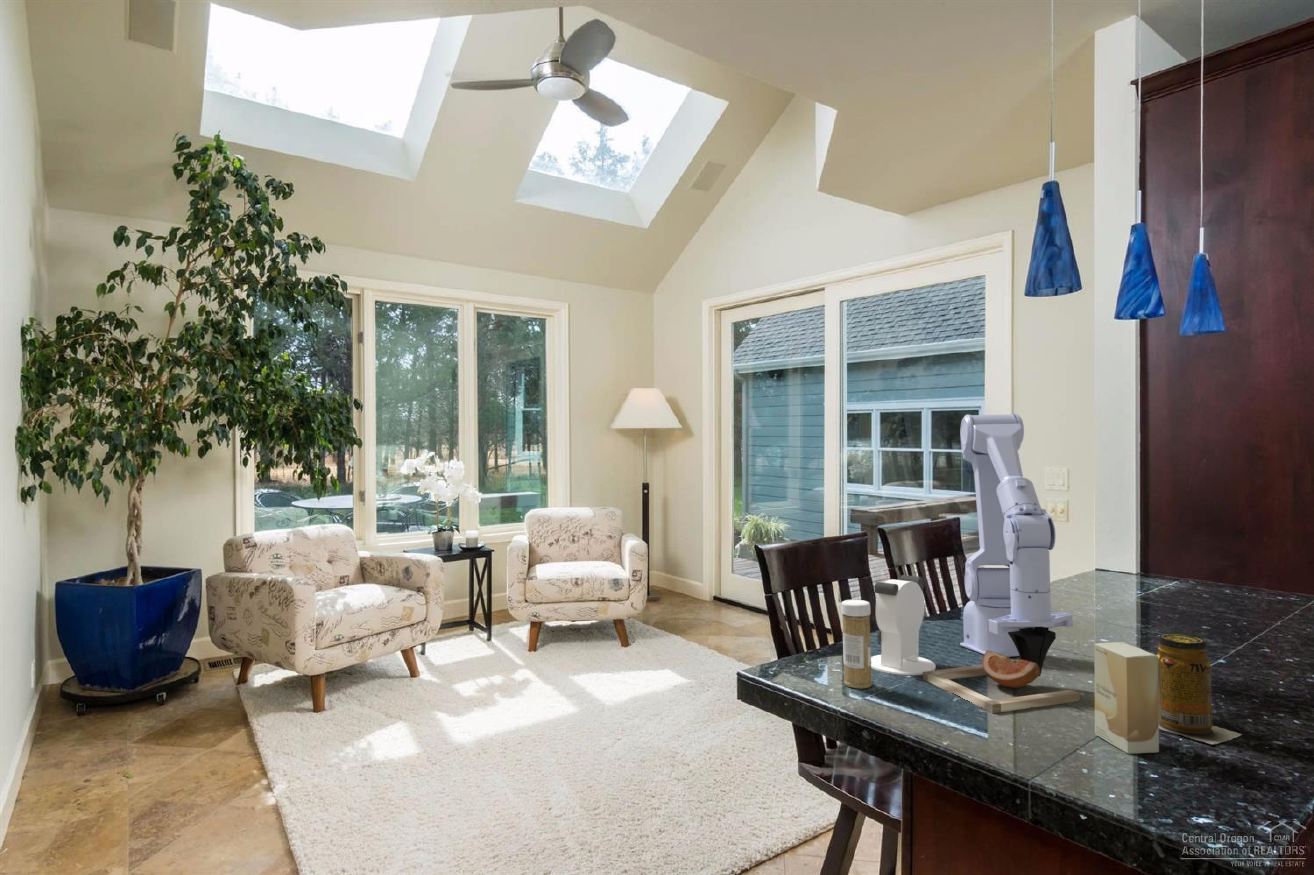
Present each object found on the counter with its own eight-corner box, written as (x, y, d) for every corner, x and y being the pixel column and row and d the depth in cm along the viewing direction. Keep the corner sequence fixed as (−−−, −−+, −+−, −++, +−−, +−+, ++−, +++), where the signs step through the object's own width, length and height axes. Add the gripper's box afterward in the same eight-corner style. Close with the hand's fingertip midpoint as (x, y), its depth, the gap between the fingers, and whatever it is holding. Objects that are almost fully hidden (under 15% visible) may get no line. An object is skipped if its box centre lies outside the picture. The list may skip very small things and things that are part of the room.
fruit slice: (1048, 690, 112) (1048, 658, 112) (1024, 699, 108) (1023, 666, 108) (998, 676, 119) (997, 646, 119) (974, 684, 115) (973, 653, 115)
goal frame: (922, 679, 118) (922, 671, 118) (1001, 669, 122) (1001, 662, 122) (992, 713, 103) (992, 704, 103) (1079, 700, 107) (1079, 692, 107)
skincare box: (1093, 735, 94) (1090, 642, 95) (1124, 733, 95) (1121, 640, 95) (1129, 755, 88) (1126, 655, 88) (1162, 753, 88) (1159, 654, 89)
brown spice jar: (878, 685, 115) (876, 602, 116) (859, 691, 113) (857, 605, 113) (856, 678, 119) (854, 597, 119) (837, 683, 117) (835, 601, 117)
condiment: (1172, 714, 101) (1169, 629, 101) (1242, 736, 93) (1240, 643, 94) (1141, 724, 98) (1138, 636, 98) (1211, 747, 90) (1208, 651, 90)
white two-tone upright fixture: (888, 651, 134) (886, 571, 135) (948, 663, 126) (946, 578, 127) (855, 665, 126) (853, 580, 126) (917, 679, 118) (914, 588, 118)
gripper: (1011, 597, 109) (1013, 687, 108) (1087, 590, 113) (1090, 677, 112) (978, 589, 115) (980, 673, 115) (1051, 583, 119) (1054, 664, 119)
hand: (1032, 674), depth 114 cm, fingers closed
